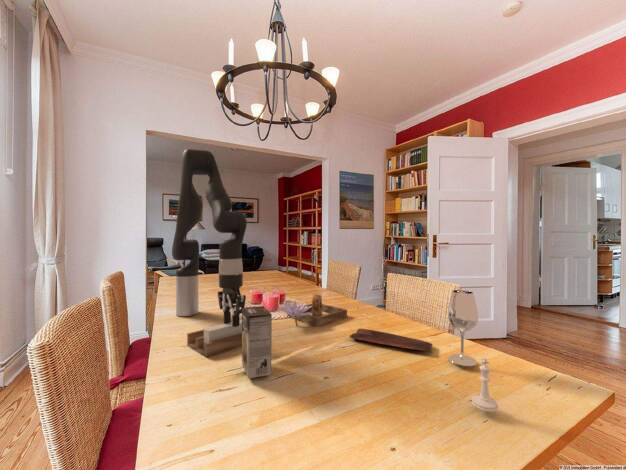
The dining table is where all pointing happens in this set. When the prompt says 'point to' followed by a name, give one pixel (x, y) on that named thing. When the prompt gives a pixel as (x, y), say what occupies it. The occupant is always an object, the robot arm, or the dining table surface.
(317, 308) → the stone disc
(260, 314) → the coffee box
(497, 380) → the dining table surface
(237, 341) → the rack
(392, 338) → the wooden tablet
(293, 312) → the water lily
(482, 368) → the chess piece
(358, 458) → the dining table surface
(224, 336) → the cream rectangular block
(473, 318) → the wineglass
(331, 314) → the square wooden tray
